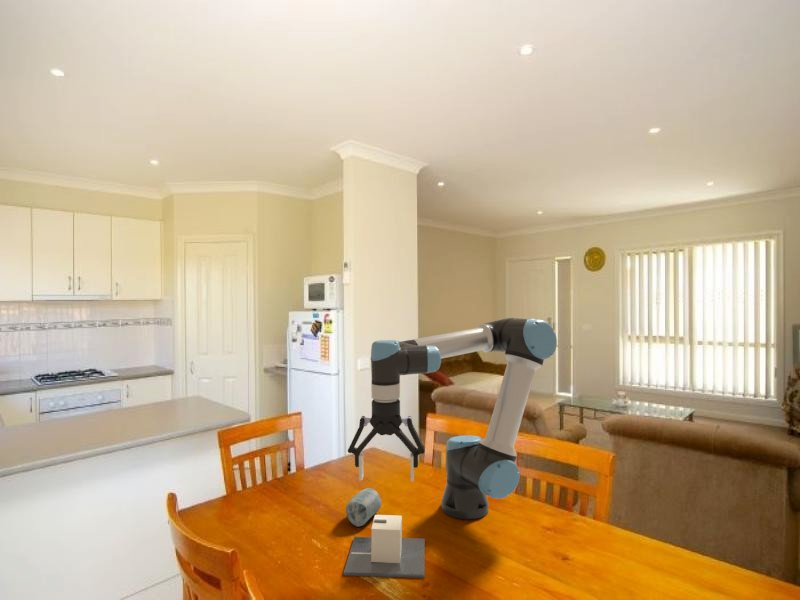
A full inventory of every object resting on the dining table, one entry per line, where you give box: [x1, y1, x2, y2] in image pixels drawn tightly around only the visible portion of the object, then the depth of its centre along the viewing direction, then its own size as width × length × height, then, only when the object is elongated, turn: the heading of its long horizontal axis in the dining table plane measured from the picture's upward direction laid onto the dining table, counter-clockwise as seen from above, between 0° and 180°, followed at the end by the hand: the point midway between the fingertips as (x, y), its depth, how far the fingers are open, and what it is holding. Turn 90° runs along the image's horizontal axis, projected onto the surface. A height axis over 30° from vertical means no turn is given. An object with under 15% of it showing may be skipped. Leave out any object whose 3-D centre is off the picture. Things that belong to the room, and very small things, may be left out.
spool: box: [345, 487, 382, 528], centre depth 136 cm, size 14×10×10 cm
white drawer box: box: [370, 514, 403, 563], centre depth 115 cm, size 7×7×9 cm
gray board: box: [343, 536, 426, 579], centre depth 115 cm, size 20×16×5 cm
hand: (386, 479), depth 115 cm, fingers open, 13 cm apart
